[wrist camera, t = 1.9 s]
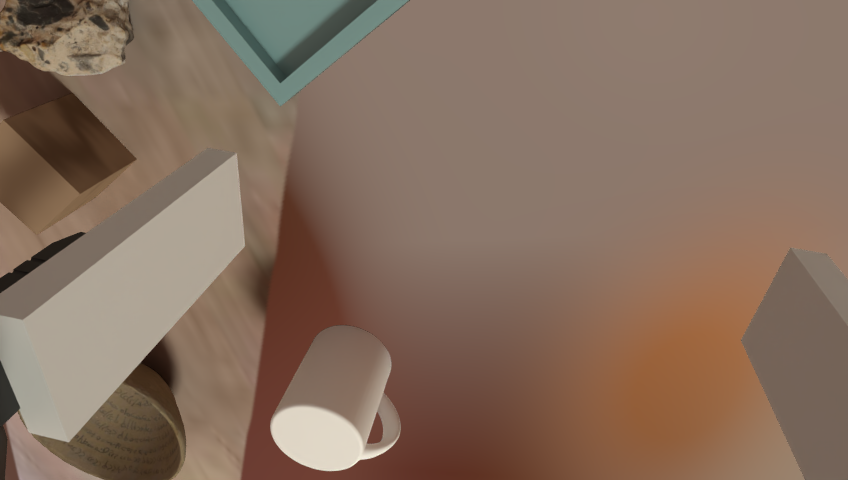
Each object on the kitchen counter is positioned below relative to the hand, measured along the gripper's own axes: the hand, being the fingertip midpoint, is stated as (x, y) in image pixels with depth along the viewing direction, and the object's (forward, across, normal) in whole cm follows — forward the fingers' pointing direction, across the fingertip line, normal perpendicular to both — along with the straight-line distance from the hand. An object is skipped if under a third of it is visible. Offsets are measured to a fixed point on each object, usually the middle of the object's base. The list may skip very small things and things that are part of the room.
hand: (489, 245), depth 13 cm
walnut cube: (+28, -36, -14) cm, 48 cm away
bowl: (+28, -36, -43) cm, 62 cm away
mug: (+28, -10, -34) cm, 45 cm away
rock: (+28, -31, -1) cm, 42 cm away
